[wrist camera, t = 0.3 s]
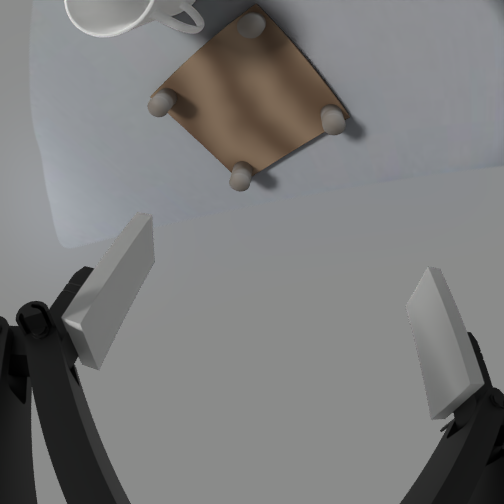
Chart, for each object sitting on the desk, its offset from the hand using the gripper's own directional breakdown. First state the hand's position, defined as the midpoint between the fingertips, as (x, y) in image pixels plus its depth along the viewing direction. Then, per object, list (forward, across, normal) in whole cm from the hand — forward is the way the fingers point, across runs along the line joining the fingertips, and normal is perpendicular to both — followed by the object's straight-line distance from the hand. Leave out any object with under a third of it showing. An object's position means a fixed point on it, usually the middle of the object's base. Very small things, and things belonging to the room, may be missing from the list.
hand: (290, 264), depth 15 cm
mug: (+22, -14, +14) cm, 30 cm away
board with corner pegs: (+25, -6, +2) cm, 26 cm away
